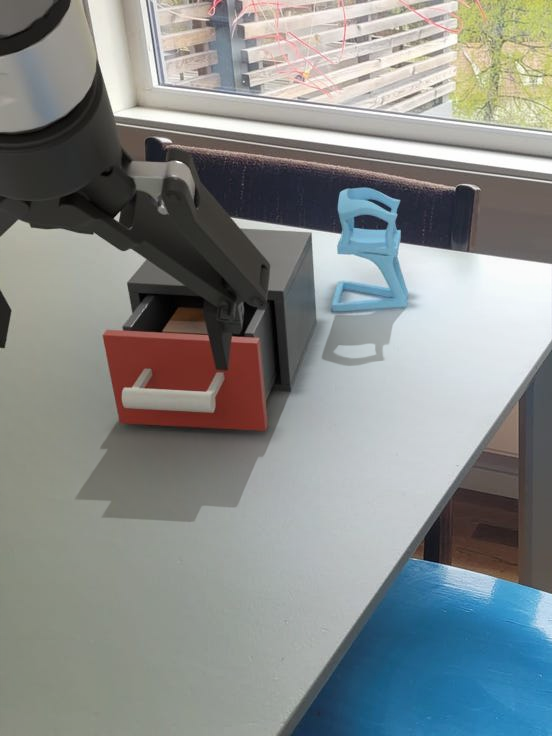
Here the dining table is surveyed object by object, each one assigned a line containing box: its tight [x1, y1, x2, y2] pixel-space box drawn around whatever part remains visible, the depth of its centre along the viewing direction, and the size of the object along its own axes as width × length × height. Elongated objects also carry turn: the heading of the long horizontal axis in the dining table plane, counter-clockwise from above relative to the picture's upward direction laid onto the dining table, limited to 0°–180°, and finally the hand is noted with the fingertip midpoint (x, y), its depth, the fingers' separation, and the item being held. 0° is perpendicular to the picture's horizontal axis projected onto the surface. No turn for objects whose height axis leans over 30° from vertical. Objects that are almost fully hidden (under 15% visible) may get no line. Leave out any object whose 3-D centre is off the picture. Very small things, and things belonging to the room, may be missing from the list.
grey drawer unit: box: [126, 227, 317, 392], centre depth 97 cm, size 17×14×10 cm
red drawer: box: [102, 294, 280, 432], centre depth 87 cm, size 21×13×8 cm, turn 179°
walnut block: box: [162, 307, 243, 337], centre depth 89 cm, size 6×6×6 cm
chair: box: [331, 187, 409, 312], centre depth 109 cm, size 8×8×12 cm
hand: (114, 340), depth 63 cm, fingers open, 13 cm apart
